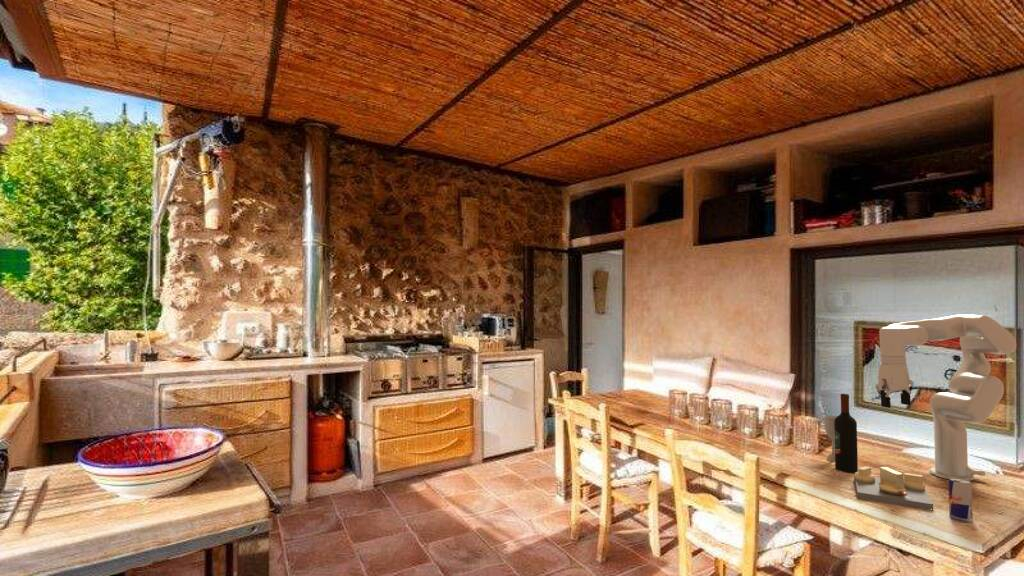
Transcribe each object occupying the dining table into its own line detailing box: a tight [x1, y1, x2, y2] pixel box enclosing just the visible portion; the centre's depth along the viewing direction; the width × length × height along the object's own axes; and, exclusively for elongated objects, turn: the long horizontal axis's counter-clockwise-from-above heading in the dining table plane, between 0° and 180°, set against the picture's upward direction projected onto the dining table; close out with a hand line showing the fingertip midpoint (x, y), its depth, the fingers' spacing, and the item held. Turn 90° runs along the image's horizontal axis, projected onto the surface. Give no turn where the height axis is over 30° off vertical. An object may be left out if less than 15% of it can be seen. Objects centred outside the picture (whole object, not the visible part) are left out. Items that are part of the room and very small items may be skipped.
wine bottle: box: [834, 393, 859, 474], centre depth 200 cm, size 8×8×30 cm
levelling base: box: [853, 466, 934, 511], centre depth 174 cm, size 20×20×6 cm
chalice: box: [822, 415, 838, 463], centre depth 212 cm, size 7×7×18 cm
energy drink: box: [947, 477, 974, 524], centre depth 154 cm, size 5×5×12 cm
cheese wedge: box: [879, 466, 907, 496], centre depth 170 cm, size 9×7×7 cm
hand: (896, 405), depth 187 cm, fingers open, 9 cm apart
